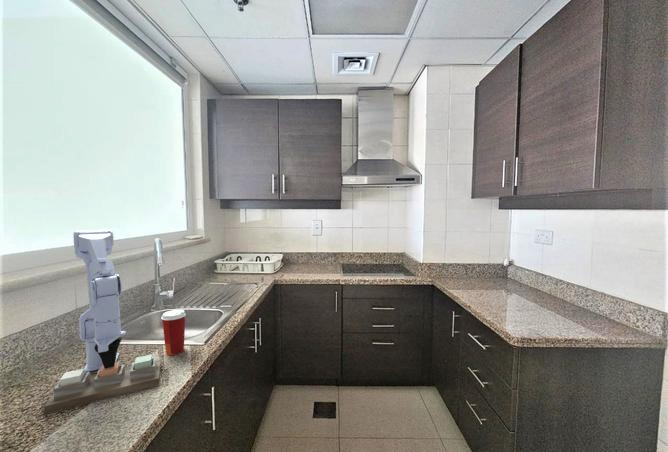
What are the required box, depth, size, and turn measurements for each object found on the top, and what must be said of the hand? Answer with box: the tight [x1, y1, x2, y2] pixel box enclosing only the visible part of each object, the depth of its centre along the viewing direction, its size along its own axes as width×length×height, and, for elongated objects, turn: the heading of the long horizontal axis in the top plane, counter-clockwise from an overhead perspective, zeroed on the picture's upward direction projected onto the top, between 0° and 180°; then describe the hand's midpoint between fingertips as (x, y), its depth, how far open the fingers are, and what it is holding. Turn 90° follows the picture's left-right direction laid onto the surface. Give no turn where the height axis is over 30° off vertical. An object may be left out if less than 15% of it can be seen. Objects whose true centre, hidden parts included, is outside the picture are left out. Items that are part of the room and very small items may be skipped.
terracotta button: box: [99, 361, 121, 378], centre depth 82 cm, size 4×4×2 cm
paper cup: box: [160, 309, 187, 356], centre depth 102 cm, size 8×8×14 cm
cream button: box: [59, 368, 85, 386], centre depth 78 cm, size 4×4×2 cm
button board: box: [43, 357, 162, 415], centre depth 82 cm, size 12×24×4 cm, turn 119°
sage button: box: [134, 354, 153, 370], centre depth 86 cm, size 4×4×2 cm
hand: (109, 366), depth 82 cm, fingers closed, pressing on terracotta button
